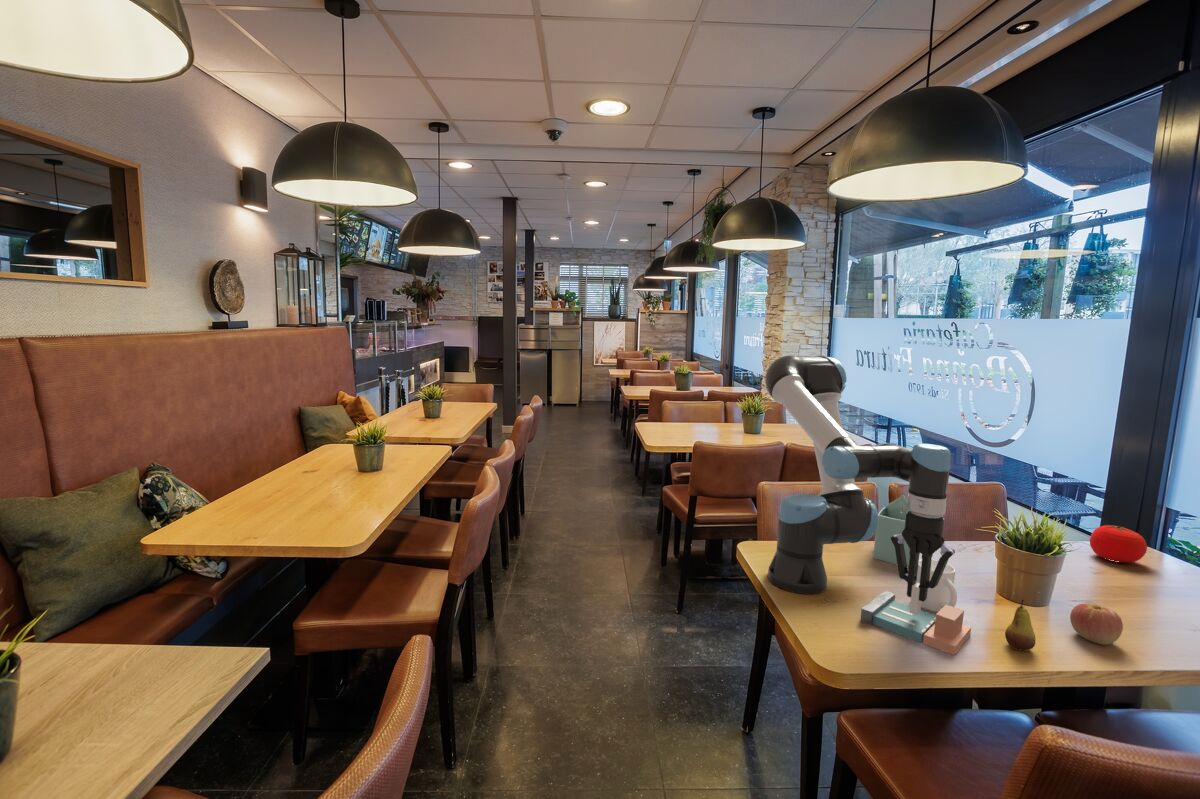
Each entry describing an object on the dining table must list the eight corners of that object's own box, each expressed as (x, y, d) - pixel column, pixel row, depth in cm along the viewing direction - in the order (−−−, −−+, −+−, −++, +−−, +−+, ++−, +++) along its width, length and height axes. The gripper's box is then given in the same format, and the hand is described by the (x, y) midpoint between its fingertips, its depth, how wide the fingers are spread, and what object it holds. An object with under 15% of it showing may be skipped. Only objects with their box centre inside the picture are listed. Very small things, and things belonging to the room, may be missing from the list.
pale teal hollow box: (858, 547, 179) (864, 487, 177) (881, 547, 180) (887, 487, 178) (889, 569, 163) (896, 503, 161) (915, 569, 164) (922, 503, 162)
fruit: (1042, 655, 121) (1049, 602, 119) (1016, 655, 120) (1024, 602, 119) (1020, 640, 126) (1027, 590, 125) (996, 641, 126) (1003, 590, 124)
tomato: (1090, 549, 185) (1095, 517, 183) (1145, 562, 175) (1151, 528, 174) (1084, 558, 177) (1089, 524, 175) (1142, 572, 167) (1147, 536, 166)
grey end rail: (860, 621, 132) (861, 608, 132) (883, 602, 142) (885, 590, 142) (870, 625, 131) (872, 612, 130) (894, 606, 140) (895, 594, 140)
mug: (969, 621, 134) (974, 580, 133) (935, 621, 134) (940, 579, 133) (936, 597, 146) (941, 559, 145) (906, 597, 146) (910, 559, 145)
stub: (923, 643, 124) (926, 615, 123) (940, 625, 132) (943, 599, 131) (954, 655, 119) (957, 626, 119) (970, 635, 128) (973, 609, 127)
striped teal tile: (861, 619, 133) (861, 610, 133) (880, 603, 142) (881, 595, 141) (921, 642, 124) (922, 633, 124) (938, 624, 132) (939, 615, 132)
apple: (1106, 653, 122) (1111, 619, 121) (1059, 633, 130) (1064, 600, 129) (1128, 646, 126) (1133, 612, 125) (1081, 626, 134) (1086, 594, 133)
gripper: (888, 508, 130) (879, 606, 132) (952, 524, 120) (941, 628, 123) (900, 503, 135) (891, 597, 137) (963, 517, 125) (951, 617, 128)
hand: (915, 611), depth 130 cm, fingers closed
